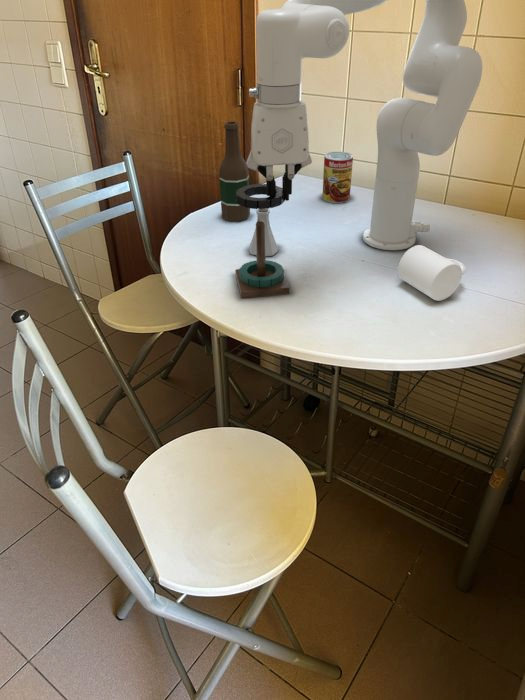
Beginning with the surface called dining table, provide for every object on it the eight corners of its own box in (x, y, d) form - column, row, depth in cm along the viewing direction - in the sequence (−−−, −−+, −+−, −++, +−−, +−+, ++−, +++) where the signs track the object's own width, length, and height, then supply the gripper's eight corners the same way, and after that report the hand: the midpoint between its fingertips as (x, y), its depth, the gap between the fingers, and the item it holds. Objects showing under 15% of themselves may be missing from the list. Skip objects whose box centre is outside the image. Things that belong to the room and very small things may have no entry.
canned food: (330, 204, 148) (333, 161, 141) (317, 195, 154) (319, 153, 146) (354, 200, 150) (358, 157, 143) (340, 191, 156) (343, 150, 149)
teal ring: (278, 264, 116) (278, 258, 115) (287, 284, 109) (287, 277, 108) (237, 268, 115) (236, 262, 114) (243, 289, 107) (243, 282, 106)
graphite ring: (279, 190, 105) (279, 182, 104) (288, 207, 98) (288, 198, 97) (234, 193, 104) (233, 185, 103) (239, 210, 97) (239, 202, 96)
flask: (275, 258, 122) (275, 217, 116) (245, 256, 123) (243, 215, 117) (281, 245, 127) (281, 205, 121) (252, 243, 128) (250, 203, 123)
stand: (280, 271, 116) (280, 209, 108) (289, 293, 108) (290, 228, 100) (235, 275, 115) (232, 213, 107) (241, 298, 107) (238, 232, 99)
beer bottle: (256, 214, 143) (253, 121, 129) (239, 224, 138) (235, 128, 123) (232, 209, 146) (227, 117, 132) (216, 218, 141) (209, 124, 127)
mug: (427, 305, 104) (434, 269, 99) (394, 284, 111) (400, 249, 106) (472, 290, 108) (481, 255, 103) (438, 270, 115) (444, 236, 111)
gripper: (236, 101, 87) (240, 209, 97) (329, 96, 88) (323, 202, 99) (231, 92, 93) (236, 194, 103) (318, 88, 94) (314, 189, 105)
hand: (279, 197), depth 101 cm, fingers closed on graphite ring, 2 cm apart
